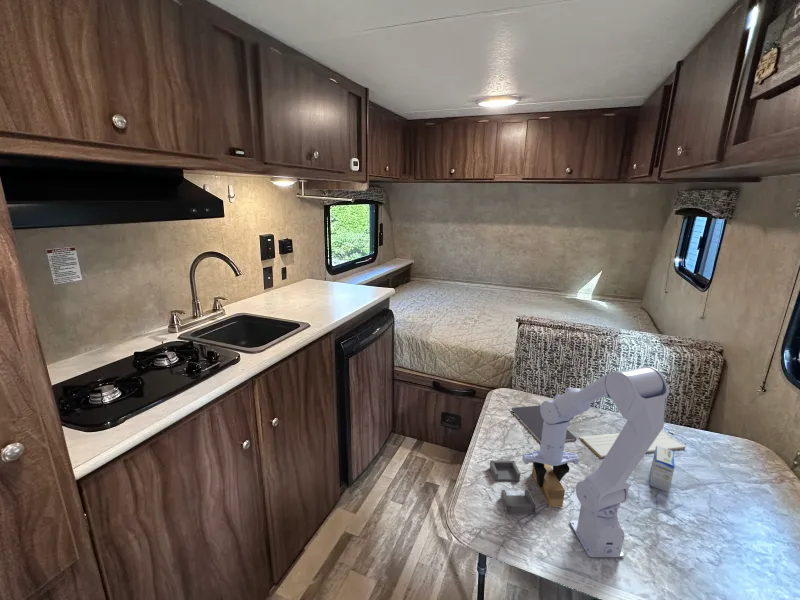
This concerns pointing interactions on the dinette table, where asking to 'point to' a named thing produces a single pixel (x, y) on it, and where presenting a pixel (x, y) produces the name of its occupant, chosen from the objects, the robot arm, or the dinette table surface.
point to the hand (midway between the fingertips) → (546, 484)
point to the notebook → (535, 421)
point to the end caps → (512, 502)
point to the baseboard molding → (605, 442)
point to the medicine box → (662, 468)
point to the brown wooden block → (551, 487)
